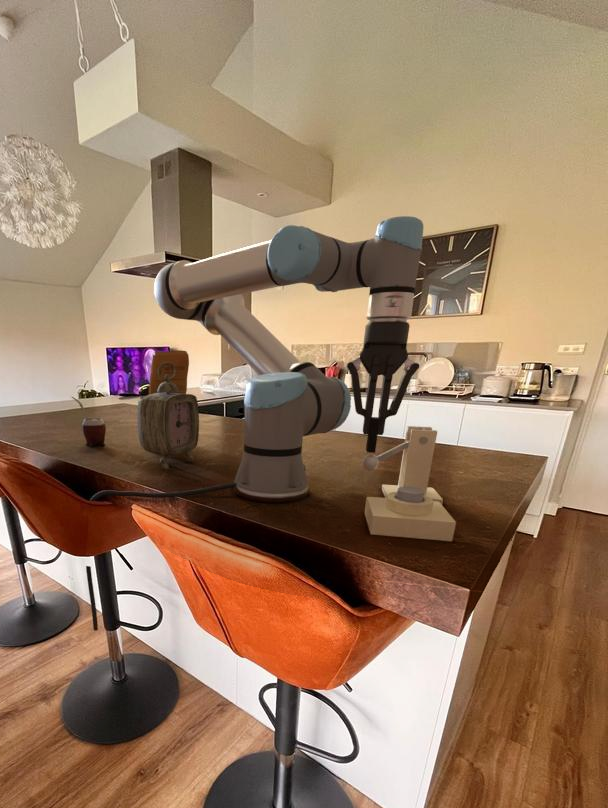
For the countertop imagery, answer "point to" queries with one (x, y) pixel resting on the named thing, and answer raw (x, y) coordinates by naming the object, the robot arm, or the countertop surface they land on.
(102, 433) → the mate gourd
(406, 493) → the grey round button
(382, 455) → the flush lever
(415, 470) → the bracket
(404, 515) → the cream rectangular base
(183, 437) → the tabletop clock
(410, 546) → the countertop surface
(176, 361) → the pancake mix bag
